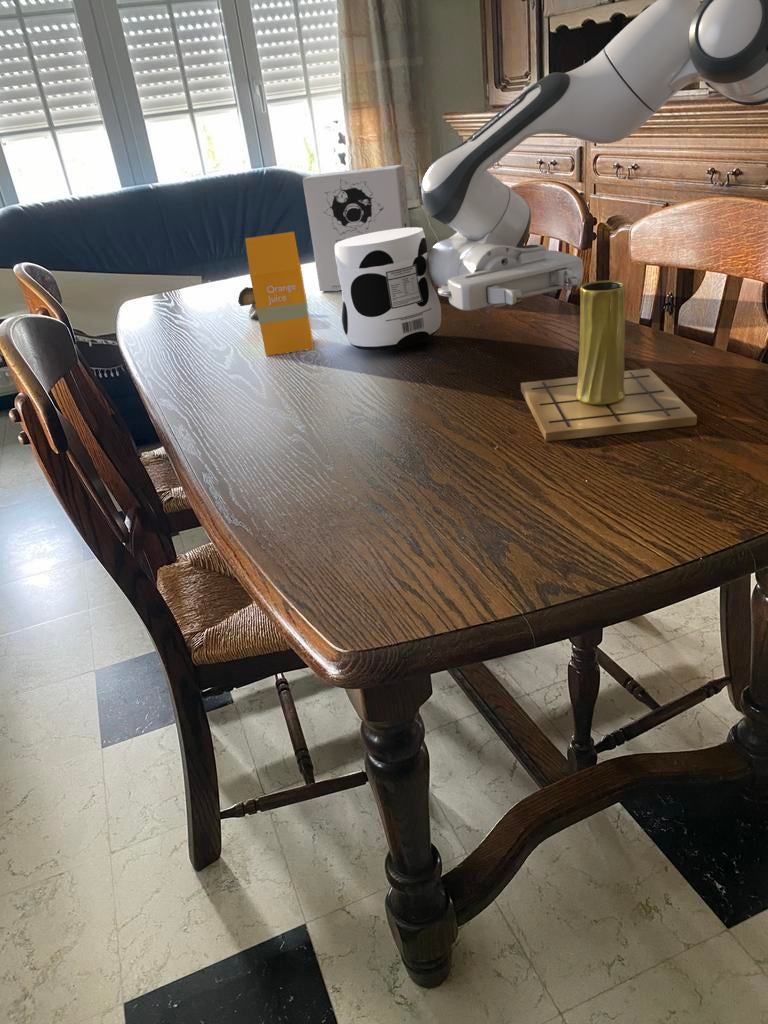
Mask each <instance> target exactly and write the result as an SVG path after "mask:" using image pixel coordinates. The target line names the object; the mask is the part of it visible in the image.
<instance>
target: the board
mask: <svg viewBox="0 0 768 1024" xmlns="http://www.w3.org/2000/svg"><path fill="white" fill-rule="evenodd" d="M577 380H578V376H571V377H570V376H569V377H562V378H555V379H554V378H553V379H552V378H551V379H544V380H535V381H526V382H525V381H524V382H520V392H521V393H522V396H523V398H524V400H525V402H526V404H527V407H528V408H529V411H530V413H531V415H532V416H533V419H534V420H535V423H536V425H537V426H538V427H537V428H538V429H539V431H540V433H541V435H542V437H543V439H544V441H545V443H547V442H555V441H556V442H557V441H565V440H572V439H573V440H574V439H584V438H593V437H601V436H602V437H603V436H609V435H619V434H628V433H636V432H637V433H638V432H646V431H647V432H648V431H655V430H663V429H664V430H665V429H673V428H674V429H675V428H681V427H693V426H697V424H698V415H697V414H695V412H693V410H691V408H690V407H688V405H687V404H686V403H684V402H683V400H682V399H681V398H680V397H678V395H677V394H676V393H675V392H674V391H673V390H672V389H671V388H670V387H669V386H668V385H666V384H665V382H664V381H662V379H661V378H660V377H658V375H657V374H656V373H655V372H654V371H653V370H652V369H651V368H650V367H649V368H640V369H639V368H638V369H632V370H624V392H625V397H624V398H623V399H622V400H620V401H619V402H616V403H612V404H606V405H592V404H586V403H583V402H581V401H579V400H578V399H577V398H576V393H577Z"/></svg>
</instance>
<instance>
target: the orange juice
mask: <svg viewBox="0 0 768 1024" xmlns="http://www.w3.org/2000/svg"><path fill="white" fill-rule="evenodd" d="M295 235H296V234H295V231H288V232H281V233H274V234H265V235H260V236H252V237H245V238H244V241H245V249H246V255H247V262H248V270H249V278H250V282H251V288H253V292H254V297H255V302H256V307H257V314H258V319H259V321H258V323H259V327H260V332H261V338H262V342H263V348H264V353H265V356H266V357H269V356H268V355H271V356H276V355H275V354H278V355H282V354H281V353H285V354H288V353H287V352H292V353H295V352H294V351H299V352H302V351H301V350H306V349H312V348H313V349H314V338H313V331H312V326H311V319H310V313H309V306H308V300H307V293H306V290H305V283H304V277H303V271H302V265H301V260H300V256H299V250H298V246H297V241H296V236H295ZM306 351H307V350H306Z"/></svg>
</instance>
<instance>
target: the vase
mask: <svg viewBox="0 0 768 1024" xmlns="http://www.w3.org/2000/svg"><path fill="white" fill-rule="evenodd" d="M626 288H627V287H626V283H625V282H623V281H619V280H608V279H607V280H596V281H590V282H586V283H583V284H582V285H580V293H579V295H580V296H579V297H580V298H579V301H580V302H579V309H580V310H579V343H578V344H579V345H578V361H577V362H578V366H577V377H578V380H577V393H576V398H577V399H578V400H579V401H581V402H583V403H586V404H592V405H606V404H612V403H616V402H619V401H620V400H622V399H623V398H624V397H625V392H624V371H625V348H626V347H625V345H626V344H625V343H626Z"/></svg>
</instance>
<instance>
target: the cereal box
mask: <svg viewBox="0 0 768 1024" xmlns="http://www.w3.org/2000/svg"><path fill="white" fill-rule="evenodd" d="M405 171H406V170H405V165H404V164H397V165H396V164H395V165H387V166H378V167H370V168H369V167H368V168H360V169H352V170H351V169H350V170H342V171H341V170H340V171H333V172H323V173H315V174H311V175H308V176H305V177H303V178H302V185H303V192H304V197H305V205H306V210H307V217H308V223H309V230H310V237H311V244H312V250H313V255H314V256H313V257H314V260H315V261H314V262H315V268H316V275H317V280H318V287H319V292H320V291H334V290H341V285H340V280H339V276H338V267H337V264H336V258H335V244H336V243H337V242H340V241H342V240H345V239H348V238H351V237H355V236H359V235H363V234H368V233H373V232H378V231H384V230H391V229H399V228H410V227H411V225H410V213H409V204H408V203H409V202H408V193H407V181H406V172H405Z"/></svg>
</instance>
